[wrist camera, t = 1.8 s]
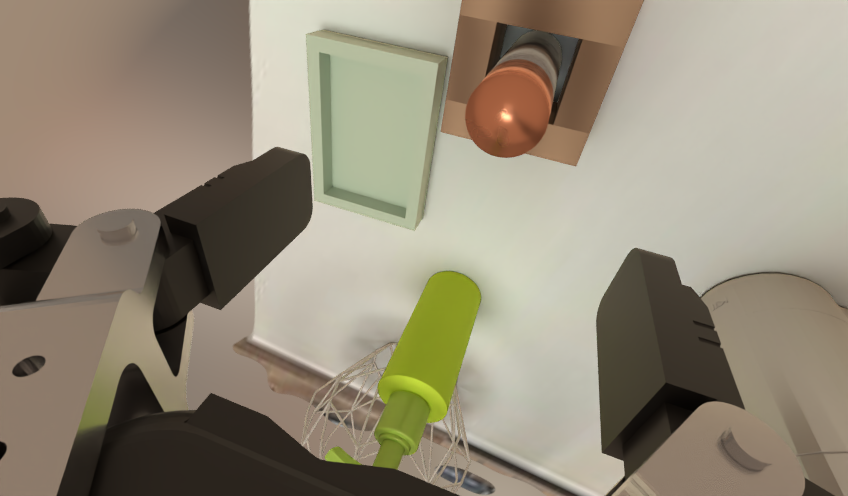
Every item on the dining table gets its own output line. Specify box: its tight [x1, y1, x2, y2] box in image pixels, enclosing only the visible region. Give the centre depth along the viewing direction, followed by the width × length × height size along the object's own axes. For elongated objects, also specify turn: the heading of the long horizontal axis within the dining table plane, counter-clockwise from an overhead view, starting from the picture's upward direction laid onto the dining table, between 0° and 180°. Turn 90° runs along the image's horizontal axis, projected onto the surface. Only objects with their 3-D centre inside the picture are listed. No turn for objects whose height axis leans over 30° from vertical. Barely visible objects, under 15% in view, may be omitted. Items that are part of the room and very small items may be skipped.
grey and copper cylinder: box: [465, 30, 562, 158], centre depth 21 cm, size 4×4×13 cm
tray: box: [306, 30, 448, 231], centre depth 32 cm, size 10×14×2 cm
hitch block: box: [441, 0, 644, 166], centre depth 25 cm, size 9×9×5 cm
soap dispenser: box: [325, 271, 481, 470], centre depth 33 cm, size 6×7×20 cm
